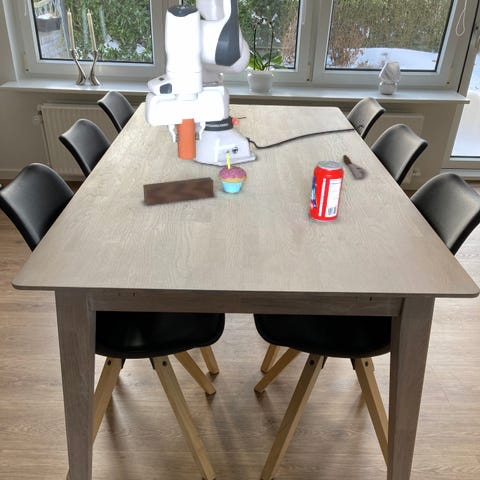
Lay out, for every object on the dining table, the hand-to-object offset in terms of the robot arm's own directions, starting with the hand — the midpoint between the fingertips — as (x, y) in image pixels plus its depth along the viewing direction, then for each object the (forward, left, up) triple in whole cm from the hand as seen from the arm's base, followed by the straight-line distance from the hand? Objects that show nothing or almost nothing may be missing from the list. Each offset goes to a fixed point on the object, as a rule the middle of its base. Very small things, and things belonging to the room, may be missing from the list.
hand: (186, 140), depth 136 cm
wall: (0, -7, -19) cm, 20 cm away
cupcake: (-18, -9, -19) cm, 28 cm away
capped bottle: (0, 0, -4) cm, 4 cm away
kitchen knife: (-66, -14, -19) cm, 70 cm away
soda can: (-33, +19, -19) cm, 42 cm away
